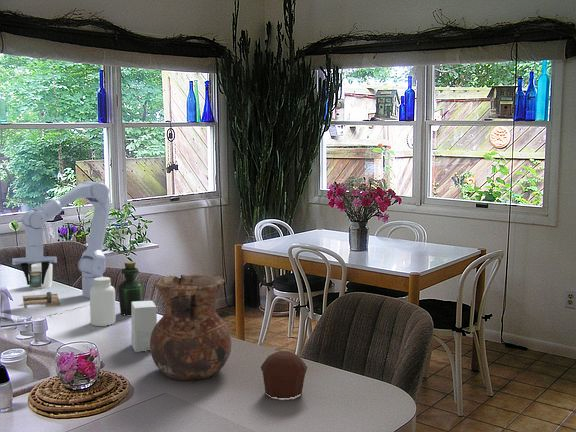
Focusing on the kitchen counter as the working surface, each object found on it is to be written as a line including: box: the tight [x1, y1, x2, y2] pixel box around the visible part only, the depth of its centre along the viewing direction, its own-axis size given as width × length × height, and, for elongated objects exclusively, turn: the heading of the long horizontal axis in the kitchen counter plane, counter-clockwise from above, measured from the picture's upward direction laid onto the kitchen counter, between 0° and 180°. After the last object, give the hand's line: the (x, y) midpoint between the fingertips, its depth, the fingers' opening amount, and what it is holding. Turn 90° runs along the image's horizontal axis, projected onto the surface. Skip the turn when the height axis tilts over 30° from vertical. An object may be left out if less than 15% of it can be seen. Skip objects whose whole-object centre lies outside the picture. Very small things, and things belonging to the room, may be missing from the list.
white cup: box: [30, 263, 53, 289], centre depth 265 cm, size 8×8×10 cm
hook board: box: [22, 291, 62, 309], centre depth 242 cm, size 19×12×5 cm, turn 23°
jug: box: [149, 274, 233, 381], centre depth 175 cm, size 22×21×25 cm
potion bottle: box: [117, 260, 143, 315], centre depth 232 cm, size 8×8×18 cm
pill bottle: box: [89, 276, 117, 327], centre depth 219 cm, size 8×8×15 cm
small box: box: [130, 300, 158, 353], centre depth 195 cm, size 8×6×13 cm
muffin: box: [260, 350, 308, 398], centre depth 163 cm, size 12×11×10 cm
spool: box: [28, 270, 43, 290], centre depth 235 cm, size 4×4×6 cm
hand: (35, 283), depth 235 cm, fingers closed on spool, 4 cm apart
